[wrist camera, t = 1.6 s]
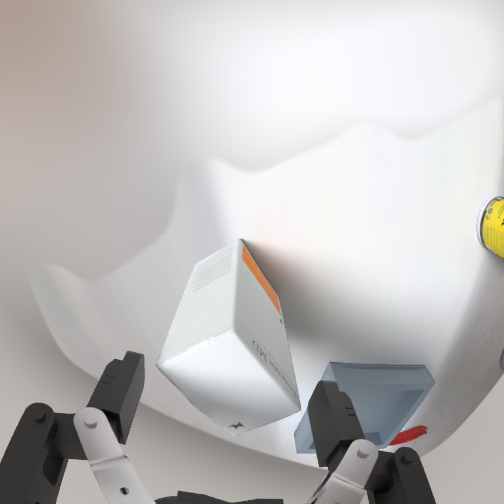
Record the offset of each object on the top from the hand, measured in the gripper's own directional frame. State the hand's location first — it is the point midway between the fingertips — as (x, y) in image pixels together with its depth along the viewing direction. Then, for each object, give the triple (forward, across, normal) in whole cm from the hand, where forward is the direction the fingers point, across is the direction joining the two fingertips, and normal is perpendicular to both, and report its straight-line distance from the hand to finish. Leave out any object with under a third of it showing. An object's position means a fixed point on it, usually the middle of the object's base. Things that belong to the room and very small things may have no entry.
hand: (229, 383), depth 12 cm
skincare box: (+12, 0, 0) cm, 12 cm away
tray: (+11, -16, +13) cm, 24 cm away
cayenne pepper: (+12, -27, +21) cm, 36 cm away
